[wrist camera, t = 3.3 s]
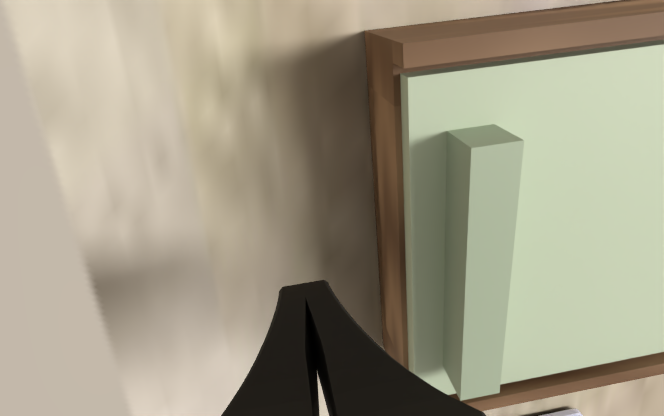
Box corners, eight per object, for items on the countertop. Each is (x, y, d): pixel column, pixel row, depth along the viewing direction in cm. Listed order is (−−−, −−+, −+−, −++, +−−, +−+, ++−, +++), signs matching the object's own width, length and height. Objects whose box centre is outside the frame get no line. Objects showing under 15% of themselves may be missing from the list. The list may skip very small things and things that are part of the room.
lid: (674, 335, 19) (725, 376, 17) (409, 387, 18) (429, 438, 16) (772, 25, 13) (865, 31, 11) (400, 73, 12) (428, 89, 10)
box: (617, 301, 22) (694, 367, 18) (383, 345, 21) (412, 425, 17) (689, -8, 16) (828, -9, 12) (364, 30, 15) (402, 43, 11)
